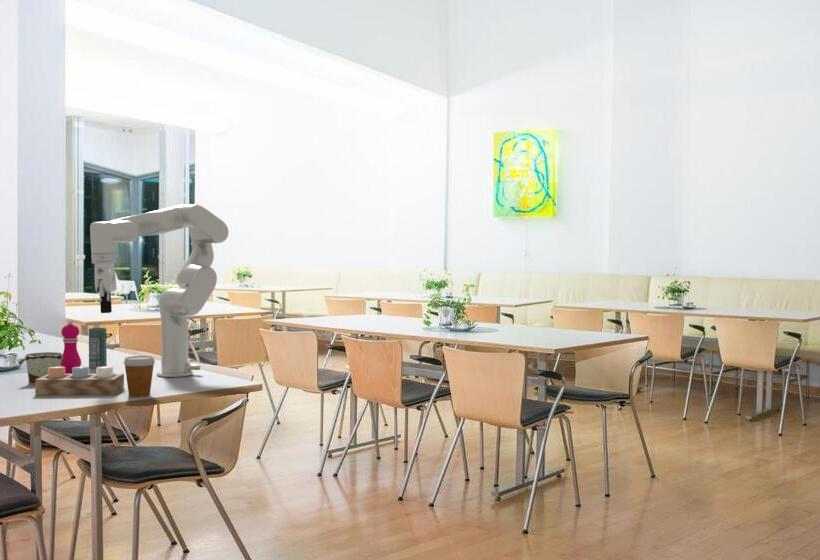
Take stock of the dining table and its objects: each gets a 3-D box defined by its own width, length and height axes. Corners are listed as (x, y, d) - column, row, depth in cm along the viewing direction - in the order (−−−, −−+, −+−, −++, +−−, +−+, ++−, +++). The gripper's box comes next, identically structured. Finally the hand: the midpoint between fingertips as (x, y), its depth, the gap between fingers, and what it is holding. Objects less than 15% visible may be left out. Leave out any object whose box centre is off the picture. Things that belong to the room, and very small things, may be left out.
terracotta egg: (67, 386, 267) (67, 366, 267) (62, 388, 262) (62, 368, 262) (51, 386, 267) (51, 366, 267) (45, 388, 262) (45, 368, 262)
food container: (64, 379, 289) (64, 351, 288) (63, 382, 283) (63, 353, 282) (25, 381, 284) (25, 352, 284) (24, 384, 278) (24, 354, 278)
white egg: (114, 385, 269) (114, 366, 268) (110, 388, 264) (110, 368, 263) (99, 386, 268) (98, 366, 268) (94, 388, 263) (94, 368, 263)
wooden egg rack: (123, 388, 272) (123, 373, 272) (114, 395, 260) (114, 379, 260) (48, 388, 270) (48, 373, 270) (35, 395, 258) (35, 379, 258)
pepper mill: (73, 377, 295) (73, 321, 294) (55, 376, 296) (55, 320, 295) (85, 374, 302) (85, 319, 301) (67, 373, 303) (67, 319, 302)
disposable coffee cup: (118, 395, 260) (118, 357, 260) (146, 391, 267) (146, 354, 266) (132, 399, 253) (132, 360, 253) (160, 395, 260) (160, 357, 260)
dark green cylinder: (108, 366, 322) (108, 328, 321) (101, 368, 316) (101, 329, 315) (94, 366, 322) (93, 327, 322) (86, 368, 316) (86, 329, 316)
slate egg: (91, 386, 268) (91, 366, 268) (86, 388, 263) (86, 368, 263) (75, 386, 267) (75, 366, 267) (70, 388, 262) (70, 368, 262)
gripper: (109, 259, 270) (112, 315, 272) (120, 257, 285) (122, 309, 287) (85, 260, 270) (88, 315, 271) (97, 257, 284) (100, 310, 286)
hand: (106, 312), depth 279 cm, fingers closed
